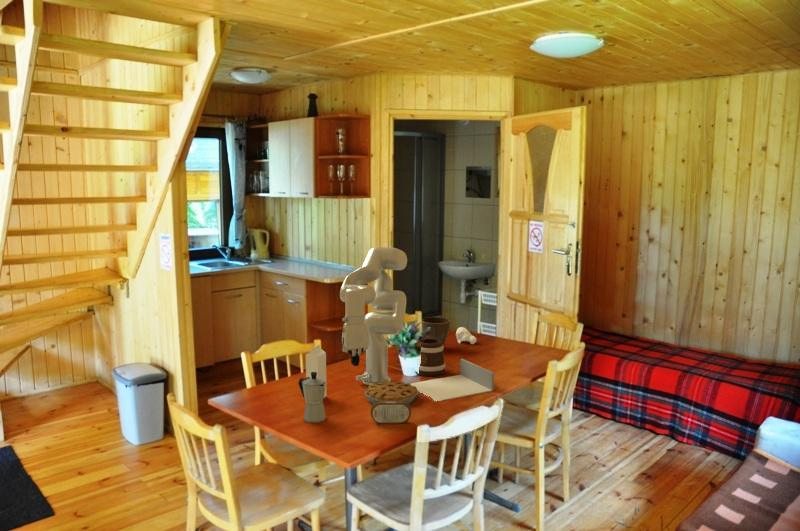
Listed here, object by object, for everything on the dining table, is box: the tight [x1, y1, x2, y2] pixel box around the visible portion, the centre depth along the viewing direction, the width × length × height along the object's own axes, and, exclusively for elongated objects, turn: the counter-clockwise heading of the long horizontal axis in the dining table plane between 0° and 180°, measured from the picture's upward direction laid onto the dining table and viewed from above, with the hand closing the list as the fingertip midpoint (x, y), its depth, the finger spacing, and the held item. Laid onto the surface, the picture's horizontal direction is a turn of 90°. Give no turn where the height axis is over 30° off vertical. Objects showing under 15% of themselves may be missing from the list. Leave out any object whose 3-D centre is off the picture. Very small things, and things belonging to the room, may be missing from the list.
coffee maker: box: [298, 372, 327, 424], centre depth 231 cm, size 15×9×18 cm, turn 48°
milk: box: [305, 344, 327, 399], centre depth 252 cm, size 6×6×22 cm
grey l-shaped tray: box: [410, 358, 495, 403], centre depth 266 cm, size 29×24×9 cm
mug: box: [419, 338, 447, 377], centre depth 290 cm, size 20×15×15 cm
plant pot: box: [421, 316, 451, 346], centre depth 328 cm, size 15×15×16 cm
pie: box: [364, 380, 419, 405], centre depth 253 cm, size 22×22×5 cm
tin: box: [370, 400, 412, 425], centre depth 227 cm, size 15×3×8 cm, turn 92°
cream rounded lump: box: [455, 326, 477, 345], centre depth 341 cm, size 6×8×12 cm
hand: (355, 365), depth 243 cm, fingers closed
